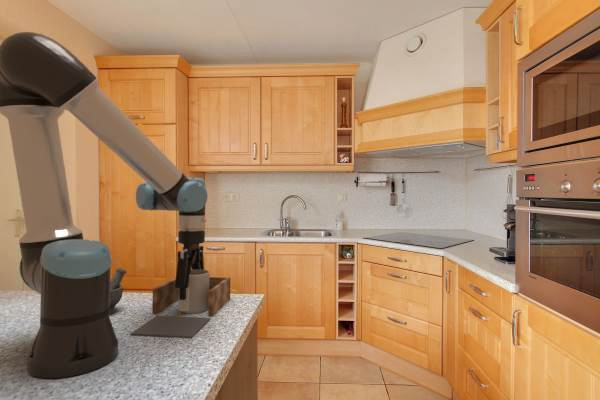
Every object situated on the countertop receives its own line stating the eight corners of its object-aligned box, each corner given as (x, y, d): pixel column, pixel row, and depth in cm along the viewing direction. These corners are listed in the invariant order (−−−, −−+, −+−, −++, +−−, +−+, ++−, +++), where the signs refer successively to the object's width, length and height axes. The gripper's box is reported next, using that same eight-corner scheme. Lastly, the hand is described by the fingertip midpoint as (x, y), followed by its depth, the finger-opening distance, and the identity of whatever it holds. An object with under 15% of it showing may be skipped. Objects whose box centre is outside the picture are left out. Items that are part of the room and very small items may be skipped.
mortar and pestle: (92, 320, 92) (93, 275, 92) (76, 313, 98) (77, 270, 98) (133, 310, 101) (134, 269, 101) (117, 304, 107) (117, 265, 107)
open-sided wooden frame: (212, 316, 97) (212, 291, 97) (152, 313, 98) (152, 289, 98) (230, 298, 115) (230, 277, 115) (178, 296, 116) (179, 275, 116)
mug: (214, 309, 103) (215, 272, 103) (188, 315, 97) (188, 276, 97) (194, 300, 112) (194, 266, 112) (168, 306, 106) (169, 270, 106)
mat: (191, 338, 82) (191, 336, 82) (130, 335, 83) (130, 333, 83) (210, 319, 95) (210, 317, 95) (157, 317, 96) (157, 315, 96)
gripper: (189, 233, 93) (188, 318, 92) (215, 227, 114) (214, 296, 114) (162, 232, 93) (160, 316, 93) (193, 227, 115) (192, 295, 115)
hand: (190, 305), depth 104 cm, fingers closed on mug, 9 cm apart
